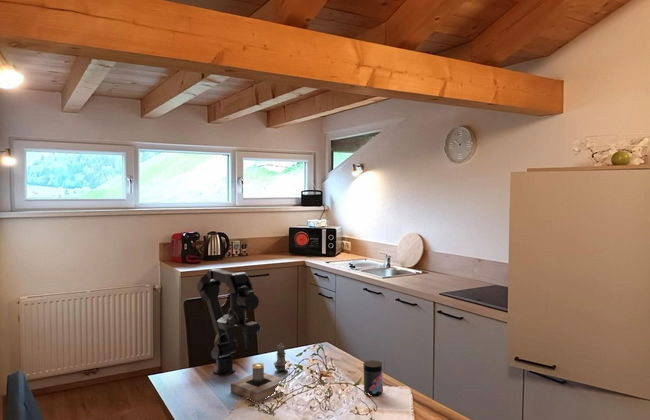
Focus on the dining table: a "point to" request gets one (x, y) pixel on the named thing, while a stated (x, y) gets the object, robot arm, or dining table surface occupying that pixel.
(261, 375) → the battery cell
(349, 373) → the dining table surface
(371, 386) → the supplement container
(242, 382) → the holder block
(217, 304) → the robot arm
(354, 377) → the dining table surface
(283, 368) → the weathered candle holder
